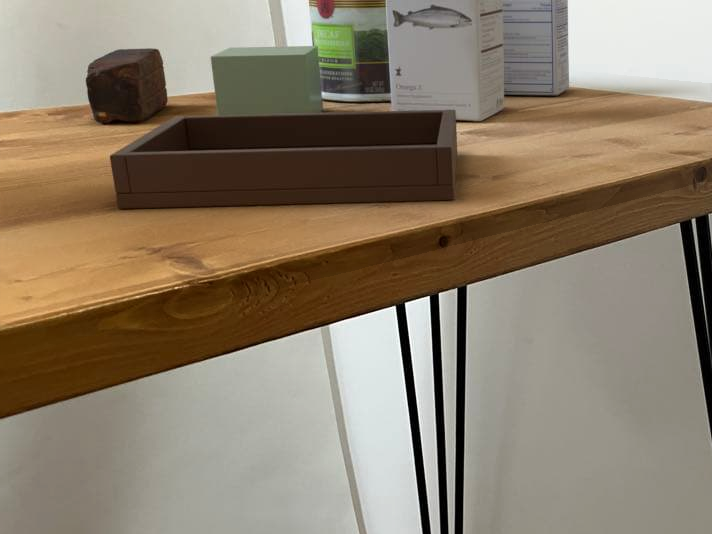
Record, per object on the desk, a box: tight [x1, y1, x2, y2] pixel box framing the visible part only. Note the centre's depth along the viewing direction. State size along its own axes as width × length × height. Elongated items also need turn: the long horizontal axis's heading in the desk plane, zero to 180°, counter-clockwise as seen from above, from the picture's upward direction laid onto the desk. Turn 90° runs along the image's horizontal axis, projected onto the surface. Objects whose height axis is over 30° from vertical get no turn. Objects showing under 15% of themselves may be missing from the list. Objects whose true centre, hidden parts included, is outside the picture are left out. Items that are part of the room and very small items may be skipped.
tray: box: [109, 110, 458, 210], centre depth 64 cm, size 18×14×3 cm
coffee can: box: [308, 0, 391, 103], centre depth 96 cm, size 10×10×14 cm
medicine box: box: [503, 0, 570, 96], centre depth 97 cm, size 8×4×9 cm, turn 74°
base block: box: [210, 45, 324, 115], centre depth 87 cm, size 7×7×5 cm
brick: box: [85, 48, 168, 124], centre depth 89 cm, size 11×4×5 cm, turn 7°
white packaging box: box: [386, 0, 505, 122], centre depth 85 cm, size 7×7×13 cm
